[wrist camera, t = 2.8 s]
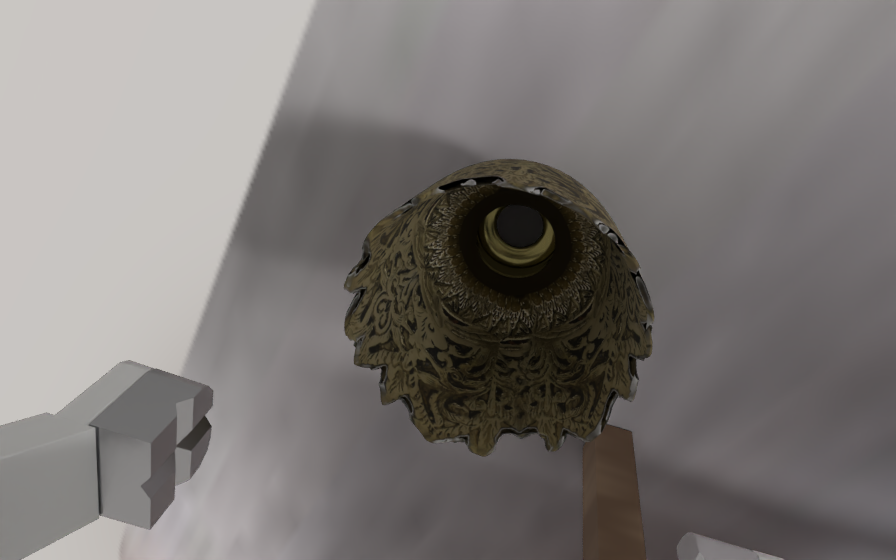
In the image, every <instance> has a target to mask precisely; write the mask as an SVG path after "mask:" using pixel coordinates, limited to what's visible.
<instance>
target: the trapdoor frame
mask: <svg viewBox="0 0 896 560" xmlns="http://www.w3.org/2000/svg"><path fill="white" fill-rule="evenodd" d="M583 560H646V552H645V543H644V534H643V525H642V517H641V508H640V499H639V490H638V482H637V473H636V464H635V456H634V447H633V438H632V432H630V431H627V430H624V429H621V428H617V427H614V426H611V425H607V424H606V426H605V428H604V430H603V431H602V433H601V434H600V435H599V436H598V437H596V438H595V439H594V440H593V441H592V442H585V444H584V447H583Z"/></svg>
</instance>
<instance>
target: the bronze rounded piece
mask: <svg viewBox="0 0 896 560" xmlns="http://www.w3.org/2000/svg"><path fill="white" fill-rule="evenodd" d="M509 205H523V206H527V207H530V208H533V209H535V210H536V211H538V212H539V213H540V215H541V217H542V220H543V232H542V234H541V236H540V238H539V239H538V240H537V241H536V242H535V243H534V244H532V245H530V246H527V247H514V246H511V245H509V244H507V243H506V242H504V241H503V240H502V239H501V237H500V236H499V234H498V231H497V219H498V216H499V214H500V213H501V211H502V210H503V209H504V208H506V207H507V206H509ZM362 249H363V254H362V259H361V260H360V262H359V263H358V264H357V265H356V266H355V267H354V268H353V269H352V271H351V272H350V273H349V275H348V277H347V279H346V281H345V283H344V289H345V290H348V291H349V292H350V293H353V294H354V293H355V292H356V293H357V294H356V295H355V297H354V299H353V301H352V302H351V304H350V307H349V309H348V311H347V313H346V318H345V326H344V328H345V334H346V336H348V338H349V339H350V340H354V341H355V343H354V346H355V347H356V349H355V355H354V364H355V365H357V366H360V367H364V368H370V369H371V370H376V369H379V368H381V370H382V371H381V379H380V382H379V386H380V391H381V402H382V405H387V404H390V403H393V402H395V401H396V400H402V402H403V403H404V404H405V406H406V407H407V409H408V411H409V417H410V420H411V421H412V423H413V424H414V425H415V426H416V427H417V429H418V430H419V431H420V432H421V434H422V435H423V437H424V438H425V439H426V440H427V441H429V442H431V443H435V444H439V443H447V442H454V443H457V442H465V443H466V445H467V446H468V449H469V451H471V452H472V453H475V454H477V455H480V456H483V457H485V456H488V455H489V454H491V453H492V452H494V450H495V448H496V443H497V442H498V440H499V439H500V438H501V436H502V435H504V434H509V435H510V434H513V435H515V436H517V437H518V438H520V439H523V438H525V437H527V436H529V435H531V434H534V433H537V434H539V436H540V437H541V438H544V440H545V446H546V449H547V450H548V451H556V450H558V449H559V448H560V447H561V446H562V445H563V443H564V441H565V439H566V436H567V434H570V435H571V436H573V437H575V438H578V439H581V440H583V441H584V442H592V441H593V440H594V439H595V438H596V437H598V436H599V435H600V434H601V433H602V431H603V430H604V428H605V426H606V424H607V422H608V420H609V417H610V414H611V410H612V407H613V404H614V402H615V400H616V399H617V397H618V396H619V397H622V398H623V399H624V400H628V399H629V401H630V402H632V401H633V400H634V397H635V394H636V389H637V384H638V380H639V378H638V375H637V369H636V359H639V360H642V361H644V359H645V358H648V357H649V356H650V355H651V353H652V337H651V331H652V326H651V324H653V321H654V311H653V307H652V303H651V300H650V296H649V294H648V291H647V288H646V286H645V283H644V281H643V279H642V277H641V275H640V273H639V270H640V269H641V268H640V266H639V264H638V262H637V260H636V259H635V257H634V256H633V254H632V253H631V252H630V251H629V249H628V247H627V245H626V243H625V241H624V240H623V238H622V236H621V234H620V232H619V230H618V229H617V227H616V225H615V223H614V222H613V220H612V219H611V217H610V216H609V214H608V213H607V211H606V210H605V208H604V207H603V206H602V205H601V203H600V202H599V201H598V200H597V199H596V198H595V197H594V195H593V194H592V193H590V192H589V191H588V190H587V189H586V188H585V187H584V186H583V185H582V184H580V183H579V182H577V181H576V180H575V179H573V178H572V177H570V176H569V175H567V174H565V173H563V172H561V171H559V170H557V169H555V168H552V167H550V166H547V165H544V164H540V163H537V162H532V161H527V160H517V159H500V160H492V161H486V162H482V163H478V164H474V165H471V166H468V167H466V168H463V169H461V170H458V171H456V172H454V173H452V174H450V175H449V176H447V177H445V178H443V179H441V180H440V181H438V182H436V183H435V184H433V185H432V186H430V187H429V188H427V189H426V190H424V191H423V192H421V193H420V194H419V195H417V196H416V197H414V198H413V199H411V200H409V201H408V202H406V203H405V204H404V205H402V206H401V207H399V208H398V209H396V210H394V211H393V212H392V213H390V214H389V215H388V216H386V217H385V218H384V219H382V220H381V221H380V222H379V223H378V224H377V225H376V226H375V227H374V228H373V229H372V230H371V232H370V233H369V234H368V235H367V237H366V239H365V241H364V244H363V247H362Z"/></svg>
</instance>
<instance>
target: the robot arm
mask: <svg viewBox="0 0 896 560" xmlns="http://www.w3.org/2000/svg"><path fill="white" fill-rule="evenodd" d="M212 406H213V390H212V389H211V388H210V387H209V386H208V385H205V384H201V383H198V382H195V381H192V380H189V379H186V378H183V377H180V376H177V375H174V374H171V373H168V372H165V371H162V370H159V369H153V368H151V367H148V366H145V365H142V364H139V363H136V362H133V361H130V360H128V361H124V362H120V363H119V364H118V365H116V366H115V367H114V368H112V369H111V370H110V371H109V372H108V373H106V374H105V375H104V376H103V377H101V378H100V379H99V380H98V381H97V382H95V383H94V384H93V385H92V386H90V387H89V388H88V389H87V390H85V391H84V392H83V393H82V394H80V395H79V396H78V397H77V398H76V399H74V400H73V401H72V402H71V403H69V404H68V405H67V406H66V407H64V408H63V409H62V410H61V411H59V412H58V413H57V414H56V415H53V414H49V413H43V414H40V415H36V416H33V417H30V418H26V419H22V420H19V421H16V422H12V423H8V424H5V425H1V426H0V560H21V559H23V558H25V557H27V556H29V555H31V554H32V553H34V552H36V551H38V550H40V549H42V548H44V547H46V546H48V545H50V544H51V543H53V542H55V541H57V540H59V539H61V538H63V537H65V536H67V535H69V534H70V533H72V532H74V531H76V530H78V529H80V528H82V527H84V526H86V525H87V524H89V523H91V522H93V521H95V520H97V519H99V515H100V516H104V517H107V518H110V519H114V520H117V521H122V522H124V523H128V524H131V525H135V526H138V527H142V528H145V529H149V530H150V529H151V528H152V527H153V526H154V524H155V523H156V522H157V521H158V519H159V518H160V517H161V516H162V514H163V513H164V512H165V511H166V509H167V508H168V507H169V506H170V504H171V503H172V502H173V500H174V498H175V486H176V485H178V484H181V483H183V482H185V481H188V480H190V479H191V477H192V476H193V475H194V473H195V472H196V471H197V469H198V468H199V467H200V465H201V462H202V460H203V458H204V456H205V454H206V452H207V450H208V446H209V442H210V438H211V427H212V426H211V425H210V423H209V421H208V420H207V418H206V416H205V414H206V413H207V412H208V411H209V410H210V409H211V407H212ZM676 549H677V555H678V560H784V559H783V558H779V557H776V556H772V555H769V554H765V553H762V552H758V551H755V550H749V549H746V548H743V547H739V546H736V545H733V544H729V543H726V542H723V541H719V540H716V539H712V538H709V537H706V536H702V535H699V534H695V533H692V532H688V533H686V534H685V535H684V536H683V537H682V538H681V540H680V542H679V543H678V545H677V547H676Z"/></svg>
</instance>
